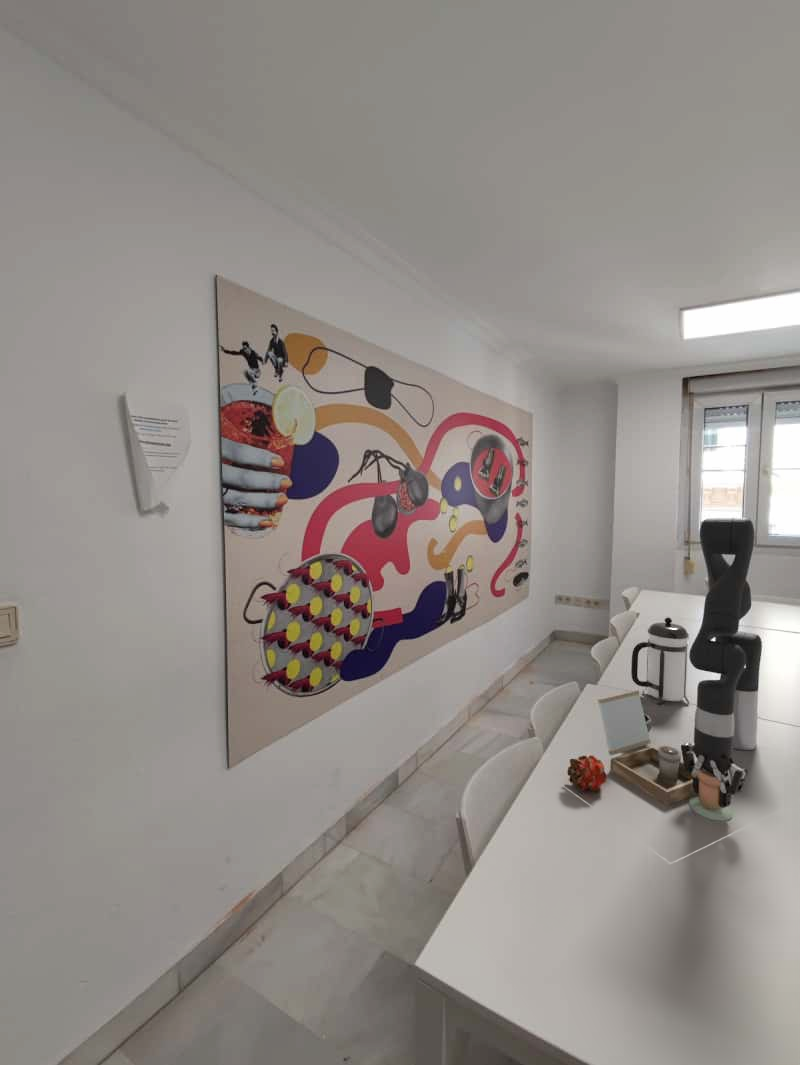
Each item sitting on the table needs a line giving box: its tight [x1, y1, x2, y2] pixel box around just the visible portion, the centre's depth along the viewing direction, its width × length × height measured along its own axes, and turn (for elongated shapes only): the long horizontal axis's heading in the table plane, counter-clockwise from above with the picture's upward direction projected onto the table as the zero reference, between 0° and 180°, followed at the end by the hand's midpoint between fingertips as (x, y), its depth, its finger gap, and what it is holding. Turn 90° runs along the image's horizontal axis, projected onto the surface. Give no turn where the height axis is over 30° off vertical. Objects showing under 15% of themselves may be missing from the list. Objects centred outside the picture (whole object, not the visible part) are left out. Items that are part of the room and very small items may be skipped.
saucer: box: [688, 795, 733, 822], centre depth 110 cm, size 8×8×1 cm
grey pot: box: [657, 745, 682, 780], centre depth 124 cm, size 5×5×7 cm
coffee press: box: [630, 616, 690, 706], centre depth 171 cm, size 17×16×30 cm
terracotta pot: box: [697, 768, 726, 809], centre depth 110 cm, size 6×6×7 cm
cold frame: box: [609, 745, 697, 807], centre depth 125 cm, size 16×23×12 cm
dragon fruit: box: [567, 755, 607, 793], centre depth 119 cm, size 8×8×12 cm
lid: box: [597, 690, 651, 756], centre depth 131 cm, size 15×14×1 cm
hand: (710, 798), depth 110 cm, fingers closed on terracotta pot, 5 cm apart
